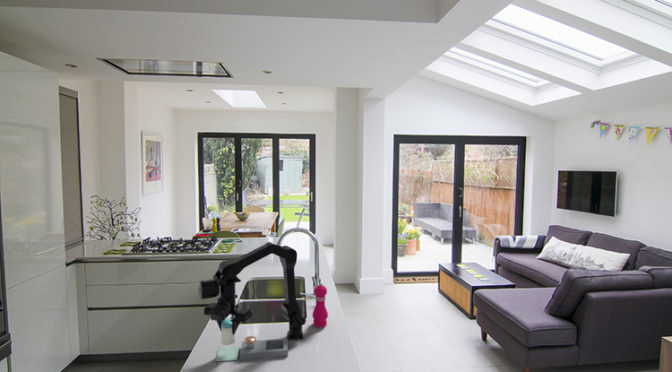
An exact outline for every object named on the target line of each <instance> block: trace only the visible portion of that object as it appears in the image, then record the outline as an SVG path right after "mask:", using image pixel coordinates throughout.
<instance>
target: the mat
mask: <svg viewBox="0 0 672 372" xmlns="http://www.w3.org/2000/svg"><path fill="white" fill-rule="evenodd" d="M240 349H241V347H240V346H230V347H219V348H218V351H217V354H216V357H215V360H214V361H215V363H217V362H216V361H223V362H232V361H233V360H235V361H238V360H239V359H238V358H239V355H240ZM233 362H234V361H233Z"/></svg>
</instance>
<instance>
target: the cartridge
mask: <svg viewBox="0 0 672 372" xmlns="http://www.w3.org/2000/svg"><path fill="white" fill-rule="evenodd" d="M232 319H233V318H232ZM232 319H231V318H225V320H223V321H222V322H221V331H220V335H221V337H220V338H221V339H220V341H221V344H222V345H224V346H230V345H233V344H234V343H235V342H236V341H235V339H236V333H235V334H234V335H233V333H232V322H231V320H232Z"/></svg>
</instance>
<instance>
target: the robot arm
mask: <svg viewBox="0 0 672 372" xmlns="http://www.w3.org/2000/svg"><path fill="white" fill-rule="evenodd" d="M269 255H275V256H277V257H278V260H279V261H280V264H281V266H282V270H283V271H282V272H283V287H284V288H283V289H284V301H283V303H280V307H281V309H280V313H281V314H282V315H283V316H284V317H285V318H286V320H288V331H287V340H300V339H301V340H302V339H304V333H303V326H304V325H306V322H307V319H306V318H305V317H304V316H302V315H301V314H302V313H301V308H300V306H299V303H298V301H297V293H296V277H295V276H296V275H295V267H296V264H297V260H298V252H297V251H296V250H295V248H293V247H291V246H288V245H282V246H281V245H279V244H275V243H274V242H273V243H272V242H271V241H268V242H266V243H264V244H262V245H260V246H259V247H257V248H255V249H253V250H251V251H249V252H247V253H245V254H243V255H241V256H239V257H232V258H229V259H225V260H223V261H222V262H220V263H219V265H218V268H217V271H216V272H215V274H214V275H213V276H212V279H206V280H205V279H204V280H203V279H202V280H200V281H199V286H198V296H199V297H198V298H199V300H200V301H202V300H207V299H213V298H217V297H218V296H219V297H218V298H217V302H211V303H209V304H208V305H206V306H205V307H204V308H203V315H205V316H209V318H210V319H211V321H215V322H216V324H217V325H218V328H219V330H220V332H221V322H222V321H223V320H226V319H228V317H229V316H233V318H232V320H231V322H232V333H233V335H234V334H235V335H236V333H237V331H238V328H239V326H240V323H246V322H247V321H248V320H249V319H250V318H252V317H253V310H252V309H251V308H250V309H249V308H244V307H243V308H241V309H240V310H236V309H238V308H239V307H238V306H239V305H238V304H236V299H237V298H238V297H239V296H238V294H236V283H241V282H242V280H241V278H239V277H238V275H239V274H240V273H241V272H242V271H243V270H244V269H245V268H246V267H248V266H250V265H253V264H254V263H256V262H258V261H261V260H262V259H264V258H266V257H267V256H269Z"/></svg>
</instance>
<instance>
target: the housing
mask: <svg viewBox="0 0 672 372" xmlns="http://www.w3.org/2000/svg"><path fill="white" fill-rule="evenodd" d="M274 347H282V348H277V349H267V348H274ZM288 347H289V345H288V337H287V338H276V339H275V338H274V339H260V340H256V342H255V343H254V349H247V344H246V343H245V340H244V341H241V347H240V351H239V360H240V361H247V360H258V359H259V360H260V359H270V358H282V357H284V358H285V357H288V356H289V348H288Z"/></svg>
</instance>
